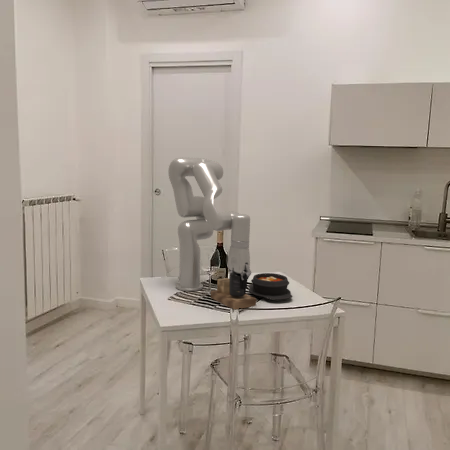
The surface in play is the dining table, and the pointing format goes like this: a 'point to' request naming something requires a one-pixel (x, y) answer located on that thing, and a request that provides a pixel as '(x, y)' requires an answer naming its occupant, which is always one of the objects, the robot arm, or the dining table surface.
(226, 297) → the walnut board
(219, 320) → the dining table surface
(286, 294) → the casserole
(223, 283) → the oak cube
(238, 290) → the supplement bottle
